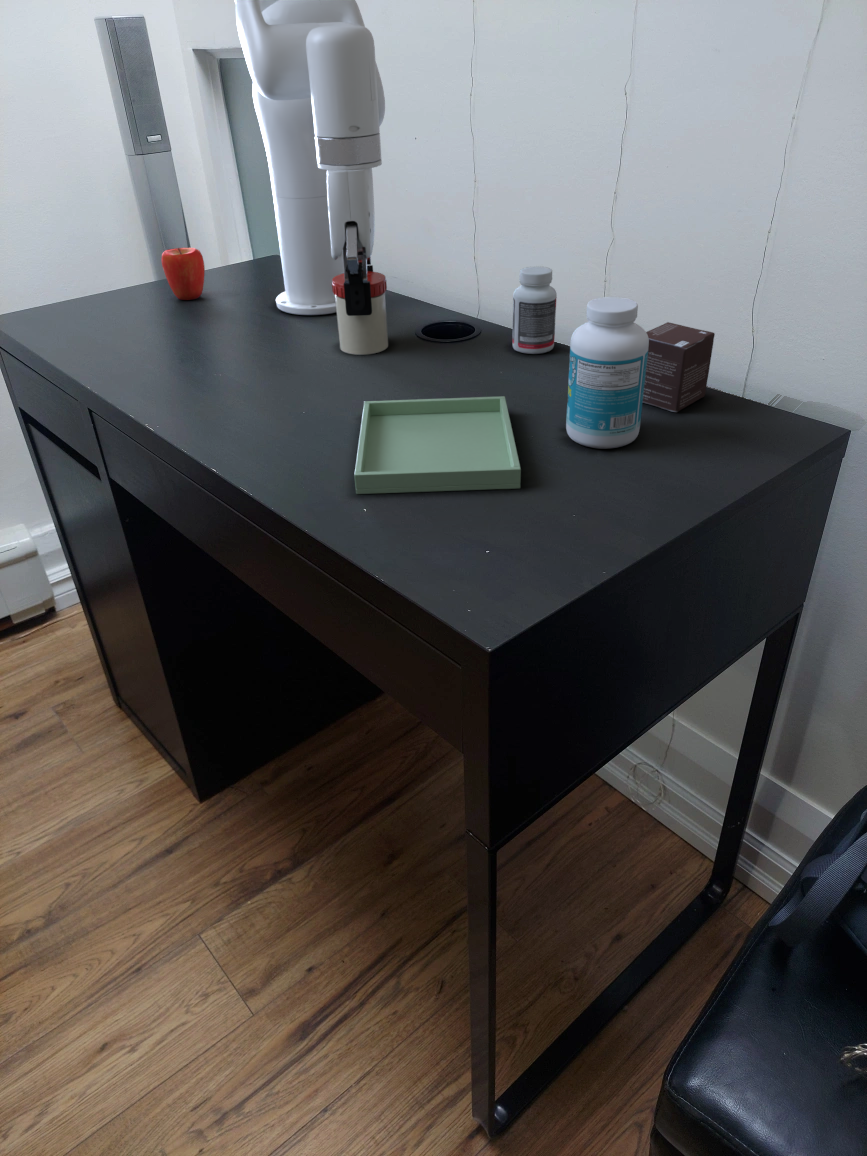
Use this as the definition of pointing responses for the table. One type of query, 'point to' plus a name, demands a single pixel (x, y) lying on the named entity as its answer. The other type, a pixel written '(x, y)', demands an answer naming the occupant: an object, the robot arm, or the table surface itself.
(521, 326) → the pill bottle
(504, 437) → the tray
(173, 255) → the apple
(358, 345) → the jar
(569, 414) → the pill bottle
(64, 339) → the table surface
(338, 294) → the cap
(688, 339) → the box
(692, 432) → the table surface
